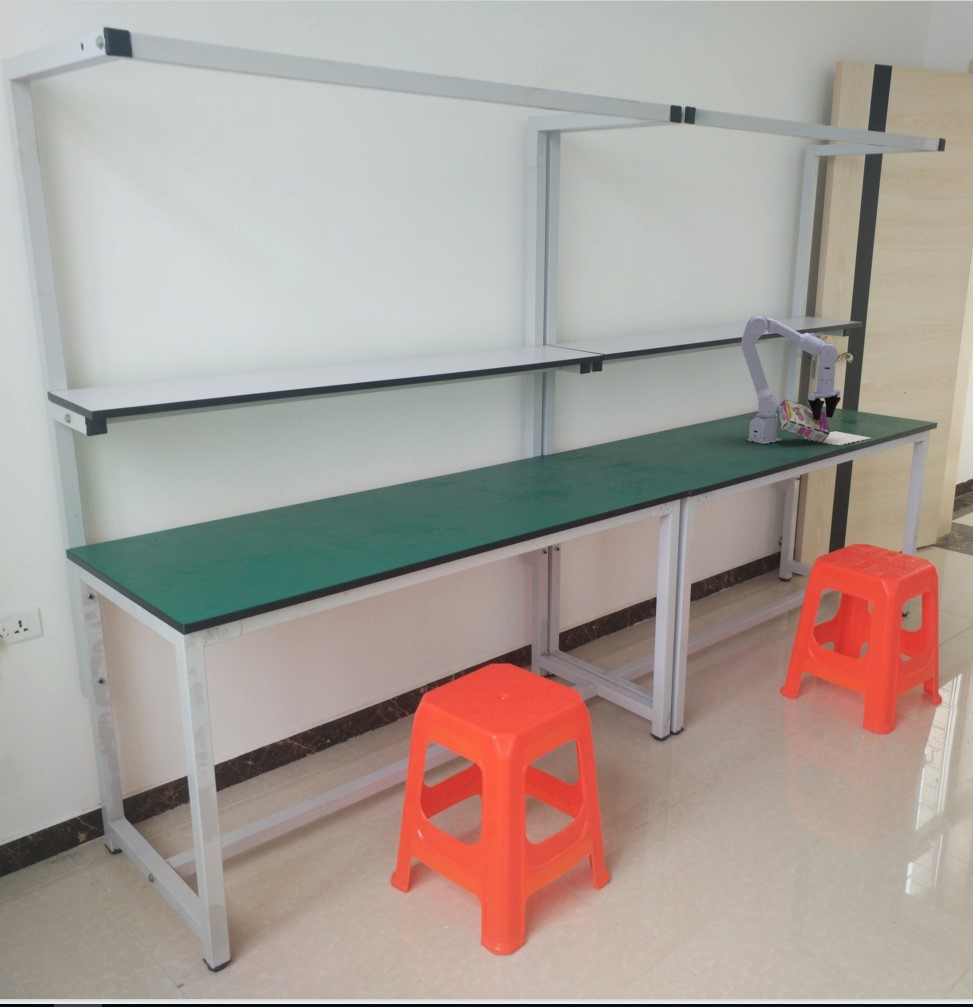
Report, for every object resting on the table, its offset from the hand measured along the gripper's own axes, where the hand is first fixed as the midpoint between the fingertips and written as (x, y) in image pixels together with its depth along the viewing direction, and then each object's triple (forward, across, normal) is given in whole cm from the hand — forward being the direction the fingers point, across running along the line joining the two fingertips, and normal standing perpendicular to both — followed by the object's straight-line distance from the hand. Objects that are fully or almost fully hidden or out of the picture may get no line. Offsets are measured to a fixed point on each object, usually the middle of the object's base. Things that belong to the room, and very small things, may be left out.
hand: (822, 418), depth 336 cm
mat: (+8, +9, 0) cm, 12 cm away
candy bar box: (+3, +2, +1) cm, 4 cm away
